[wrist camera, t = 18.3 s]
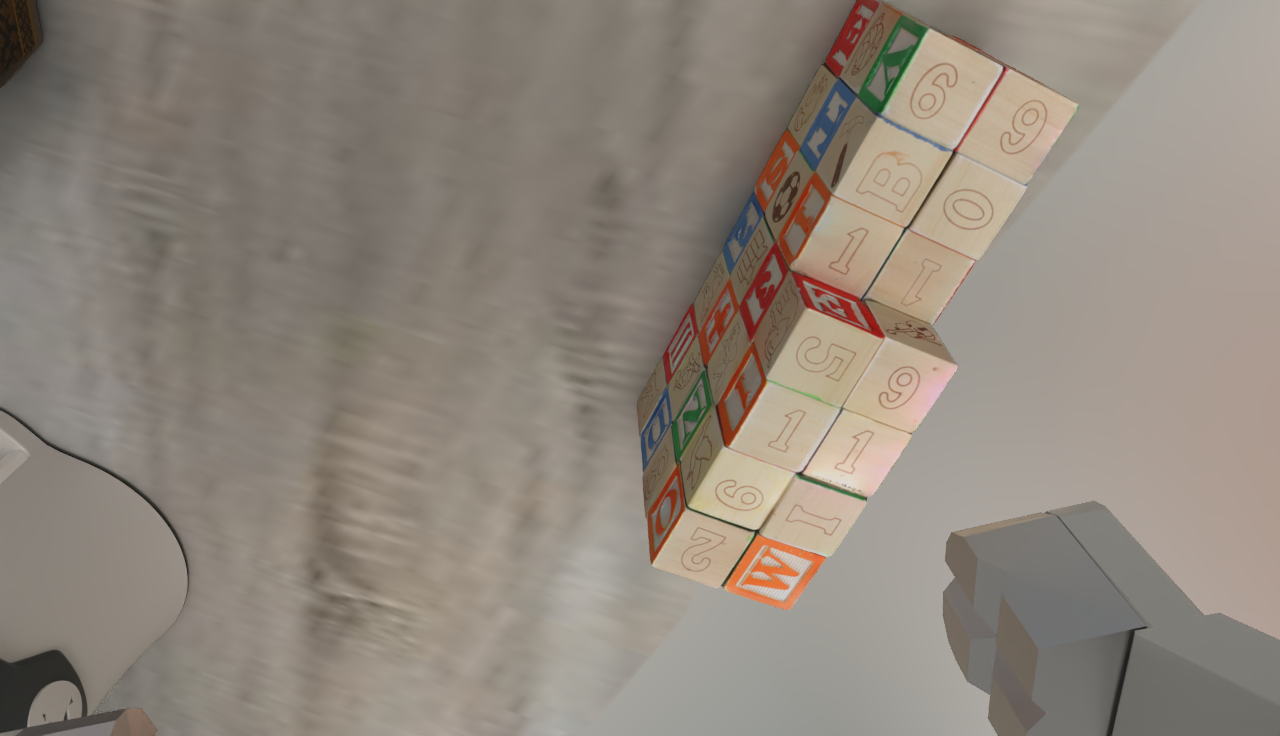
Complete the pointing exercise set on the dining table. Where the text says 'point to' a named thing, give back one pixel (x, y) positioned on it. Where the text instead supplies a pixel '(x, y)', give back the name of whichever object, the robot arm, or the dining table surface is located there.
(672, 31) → the dining table surface
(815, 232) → the stack of blocks
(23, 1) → the ceramic cup
